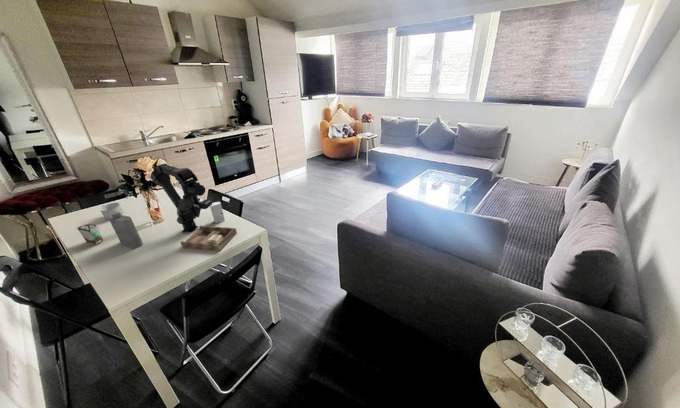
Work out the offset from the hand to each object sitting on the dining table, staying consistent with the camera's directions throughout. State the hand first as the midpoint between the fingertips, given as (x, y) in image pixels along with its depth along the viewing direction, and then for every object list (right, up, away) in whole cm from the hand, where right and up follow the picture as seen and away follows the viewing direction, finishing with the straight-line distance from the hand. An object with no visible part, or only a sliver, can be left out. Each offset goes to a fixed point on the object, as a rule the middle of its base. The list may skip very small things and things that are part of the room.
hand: (198, 217), depth 148 cm
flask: (-38, -15, 0) cm, 40 cm away
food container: (-60, -14, +4) cm, 62 cm away
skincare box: (+3, -3, +20) cm, 20 cm away
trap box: (+6, -13, 0) cm, 15 cm away
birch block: (+13, -13, -5) cm, 19 cm away
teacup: (-73, -1, +30) cm, 79 cm away
